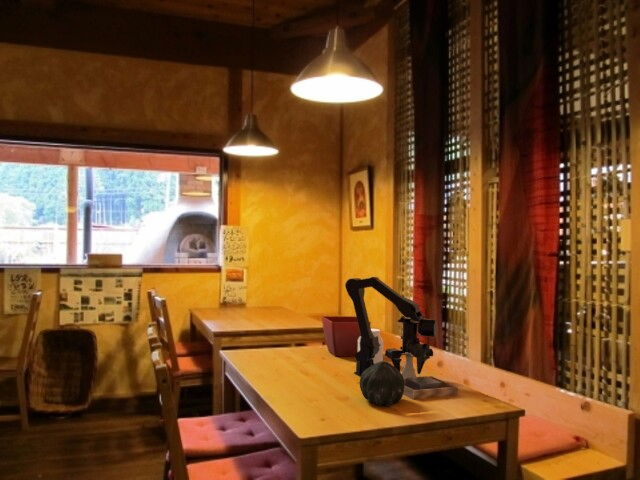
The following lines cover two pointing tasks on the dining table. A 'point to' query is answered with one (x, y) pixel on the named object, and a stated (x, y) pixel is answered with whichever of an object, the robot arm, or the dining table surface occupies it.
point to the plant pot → (341, 334)
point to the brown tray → (431, 391)
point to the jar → (379, 355)
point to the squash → (382, 384)
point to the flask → (408, 367)
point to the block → (422, 383)
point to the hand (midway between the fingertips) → (408, 374)
